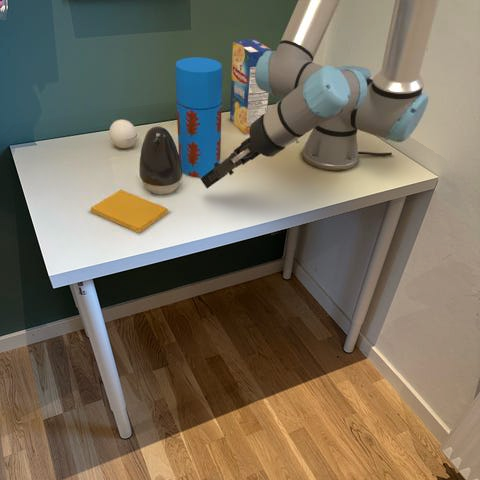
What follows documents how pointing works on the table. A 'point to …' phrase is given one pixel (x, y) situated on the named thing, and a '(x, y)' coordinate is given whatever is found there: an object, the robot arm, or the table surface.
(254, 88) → the cracker box
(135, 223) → the mustard mat
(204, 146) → the thermos
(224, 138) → the table surface
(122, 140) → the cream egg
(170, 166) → the black glossy oval body
